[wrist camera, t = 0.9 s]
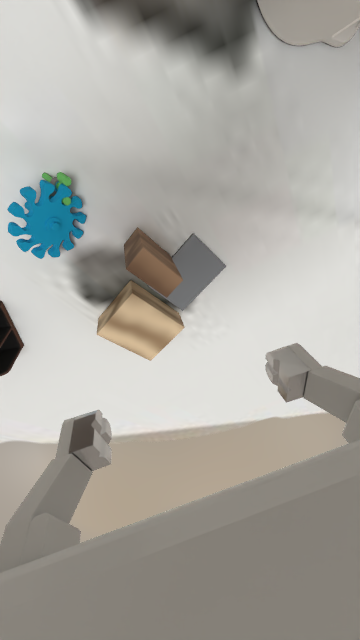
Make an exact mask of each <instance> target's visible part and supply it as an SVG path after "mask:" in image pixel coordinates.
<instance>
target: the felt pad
mask: <svg viewBox="0 0 360 640" xmlns="http://www.w3.org/2000/svg"><path fill="white" fill-rule="evenodd" d="M172 260H173V262H174V263H175V265H176V267H177V269H178V271H179V273H180V275H181V277H182V278H183V281H182V282H181V283H180V284H179V285H178V286H177V287H176V288H175V289H174V290H173V292H172V293H171V294H170V295H169V296H168V297H167V298H166V297H165V296H163V295H162V294H161V293H159V292H158V291H156V290H155V289H153V288H152V287H151V286H149V285H148V287H150V288H151V289H153V290H154V291H155V292H157V293H158V294H160V295H161V296H163V297H164V298H165V299H167V300H168V301H170V302H171V303H172V304H174V305H175V306H177V307H178V308H180V309H181V310H182V311H183V310H184V309H185V308H186V307H187V306H188V305H189V304H190V303H191V302H192V301H193V300H194V299H195V298H196V297H197V296H198V295H199V294H200V293H201V292H202V291H203V290H204V289H205V287H206V286H207V285H208V284H209V283H210V282H211V281H212V280H213V279H214V278H215V277H216V276H217V275H218V274H219V273H220V272H221V271H222V270H223V269H224V268H225V267H226V265H225V264H224V263H223V262H222V261H221V260H220V259H219V258H218V257H216V256H215V255H214V254H213V253H212V252H211V251H210V250H209V249H208V248H207V247H206V246H205V245H204V244H203V243H202V242H201V241H200V240H199V239H198V238H197V237H196V236H195V235H194V234H192V235H191V236H190V237H189V239H188V240H187V241H186V242H185V243H184V244H183V245H182V247H181V248H180V249H179V250H178V251H177V252H176V253H175V255H174V256H173V257H172Z"/></svg>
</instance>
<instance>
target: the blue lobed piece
mask: <svg viewBox="0 0 360 640" xmlns="http://www.w3.org/2000/svg"><path fill="white" fill-rule="evenodd" d="M42 177H43V178H44V179H45V180H46V181H45V180H41V181H40V188H41V197H40V199H39V201H38V203H35V199H36V192H35V190H34V189H32V188H31V187H24V188H22V189H20V193H21V195H22V196H23V197H24V198H25V199H26V200H27V202H26V203H25V208H26V209H28V210H29V213H27V214H24V209H23V208H22V207H21V206H20V205H19V204H18V203H16V202H13V203H12V204H11V205H10V206H9V208H8V211H9V212H10V213H11V214H13V215H14V216H16V217H20V218H23V219H24V220H25V221H26V222H27V225H26V227H24V228H21V227H19V226H18V225H17V224H16V223H14V222H10V223H9V224H8V232H9V233H10V234H11V235H13V236H19V235H23V234H28V235H32V236H31V239H29V240H25V239H19V240H17V241H16V242H17V245H18V246H19V248H20V249H21V250H22V251H24V252H26V251H28V250H29V249H30V248H31V247H32V246H34V245H36V244H39V243H41V245H40V246H39V247H36V248H33V249H32V251H31V252H32V253H33V254H34V255H35V256H36V257H38V258H40V259H42V258H43V257H44V255H45V252H46V250H47V249H48V248H49V247H50V246H51V245H52V244H53V246H52V247H51V248H50V249H49V250H48V254H49V255H50V256H52V257H59V256H60V251H59V247H60V244H61V242H62V241H63V240H64V242H63V244H62V246H63V248H65V249H66V250H67V251H68V250H71V249H72V248H74V245H73V243H71V241H70V239H69V233H70V231H72V234H73V236H75V237H76V238H78V239H79V238H80V237H81V236H82V234H83V231H81V230H80V229H79V228H76V227H74V226H73V224H72V222H73V220H74V219H76V220H77V221H78V222H80V223H81V224H84V223H85V220H86V215H84V214H83V213H82V212H78V213H70V209H71V208H72V207H76V208H78V209H80V208H81V207H82V201H81V199H80V198H79V197H77V196H73V197H72V198H71V199H70V198H69V197H70V196H71V194H72V192H71V190H70V189H69V188H68V187H67V186H70V185H71V179H70V178H69V177H68V176H66V175H65V174H63V173H62V172H59V173H58V174H57V177H54V178H52V177H51V176H49V175H48V174H46V173H43V174H42ZM61 202H62V203H61Z"/></svg>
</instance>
